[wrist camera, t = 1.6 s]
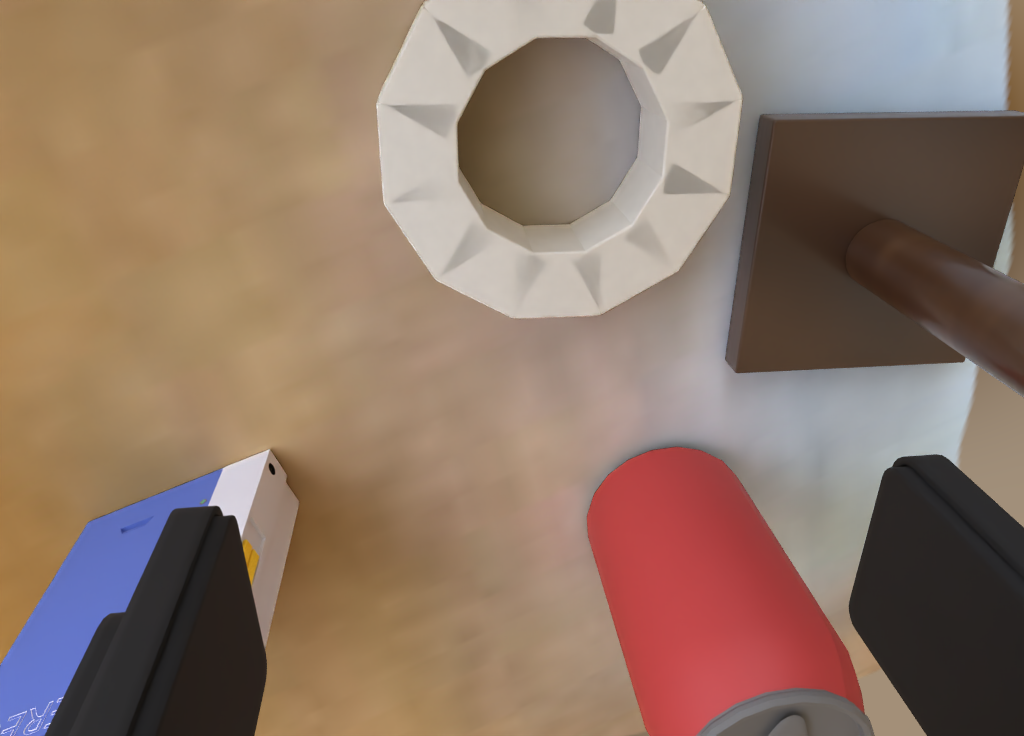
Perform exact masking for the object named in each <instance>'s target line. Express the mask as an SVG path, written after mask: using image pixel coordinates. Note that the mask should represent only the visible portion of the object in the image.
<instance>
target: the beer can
mask: <svg viewBox="0 0 1024 736" xmlns="http://www.w3.org/2000/svg"><path fill="white" fill-rule="evenodd" d="M587 527H588V538H589V541H590V544H591V548H592V551H593V554H594V558H595V561H596V564H597V568H598V571H599V575H600V578H601V581H602V585H603V588H604V591H605V595H606V598H607V601H608V605H609V608H610V611H611V615H612V618H613V621H614V625H615V628H616V631H617V635H618V638H619V641H620V645H621V648H622V651H623V655H624V658H625V661H626V665H627V668H628V671H629V675H630V678H631V681H632V685H633V688H634V691H635V695H636V698H637V701H638V705H639V708H640V711H641V715H642V718H643V721H644V725H645V728H646V730H647V732H648V734H649V735H650V736H875V735H874V732H873V729H872V725H871V723H870V720H869V718H868V717H867V716H866V715H865V713H864V706H863V699H862V693H861V690H860V686H859V683H858V680H857V677H856V673H855V670H854V668H853V665H852V662H851V659H850V656H849V653H848V650H847V649H846V647H845V646H844V644H843V642H842V641H841V639H840V638H839V636H838V635H837V633H836V631H835V630H834V628H833V627H832V625H831V624H830V622H829V620H828V619H827V617H826V616H825V614H824V613H823V611H822V609H821V608H820V606H819V605H818V603H817V602H816V600H815V598H814V597H813V595H812V594H811V592H810V591H809V589H808V587H807V586H806V584H805V583H804V581H803V580H802V578H801V576H800V575H799V573H798V572H797V570H796V569H795V567H794V565H793V564H792V562H791V561H790V559H789V558H788V556H787V554H786V553H785V551H784V550H783V548H782V547H781V545H780V543H779V542H778V540H777V539H776V537H775V536H774V534H773V532H772V531H771V529H770V528H769V526H768V525H767V523H766V521H765V520H764V518H763V517H762V515H761V514H760V512H759V510H758V509H757V507H756V506H755V504H754V503H753V501H752V499H751V498H750V496H749V495H748V493H747V492H746V490H745V488H744V487H743V485H742V484H741V482H740V481H739V479H738V477H737V476H736V475H735V474H734V473H733V471H732V470H731V469H730V468H729V467H728V466H727V465H726V464H725V463H724V462H723V461H722V460H720V459H718V458H716V457H714V456H712V455H710V454H708V453H706V452H703V451H701V450H697V449H689V448H682V447H670V448H663V449H656V450H651V451H648V452H646V453H643V454H641V455H639V456H636V457H634V458H631V459H629V460H627V461H626V462H624V463H623V464H622V465H621V466H619V467H618V468H617V469H615V470H614V471H613V472H611V473H610V474H609V475H608V476H607V477H606V479H605V480H604V481H603V483H602V484H601V485H600V487H599V488H598V489H597V491H596V492H595V494H594V496H593V499H592V502H591V505H590V508H589V512H588V515H587Z"/></svg>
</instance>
